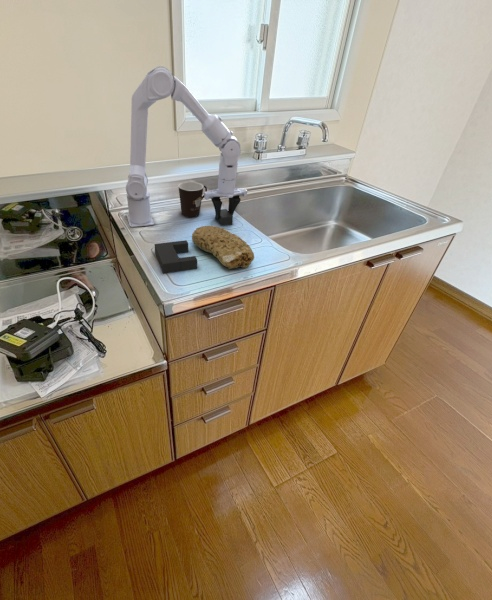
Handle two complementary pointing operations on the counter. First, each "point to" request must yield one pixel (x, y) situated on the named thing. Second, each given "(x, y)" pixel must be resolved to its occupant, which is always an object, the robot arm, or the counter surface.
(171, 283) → the counter surface
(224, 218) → the pad piece
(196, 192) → the coffee mug
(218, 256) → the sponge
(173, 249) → the base pad
